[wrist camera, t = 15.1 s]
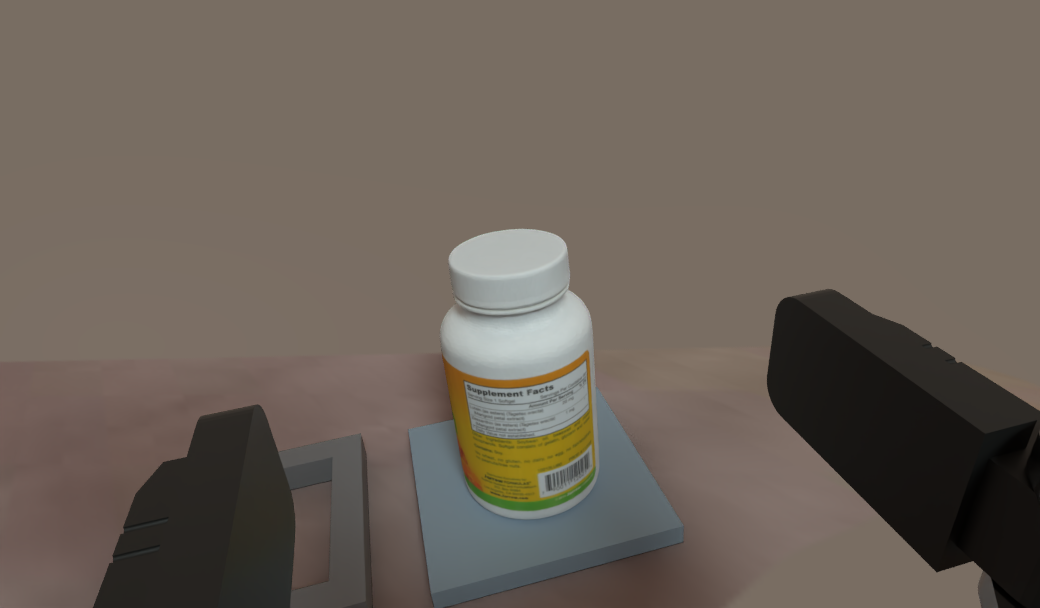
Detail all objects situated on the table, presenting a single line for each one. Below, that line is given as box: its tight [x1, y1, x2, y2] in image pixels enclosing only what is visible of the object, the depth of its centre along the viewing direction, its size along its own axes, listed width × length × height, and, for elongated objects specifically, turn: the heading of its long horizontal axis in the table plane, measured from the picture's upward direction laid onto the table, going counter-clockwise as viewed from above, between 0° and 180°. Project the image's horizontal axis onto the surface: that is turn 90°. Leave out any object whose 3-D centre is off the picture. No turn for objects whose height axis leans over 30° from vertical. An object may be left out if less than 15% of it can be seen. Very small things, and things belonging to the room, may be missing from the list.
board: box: [408, 387, 684, 608], centre depth 26 cm, size 9×9×1 cm
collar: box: [278, 433, 373, 608], centre depth 24 cm, size 9×9×1 cm
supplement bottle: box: [440, 229, 599, 520], centre depth 23 cm, size 5×5×10 cm
